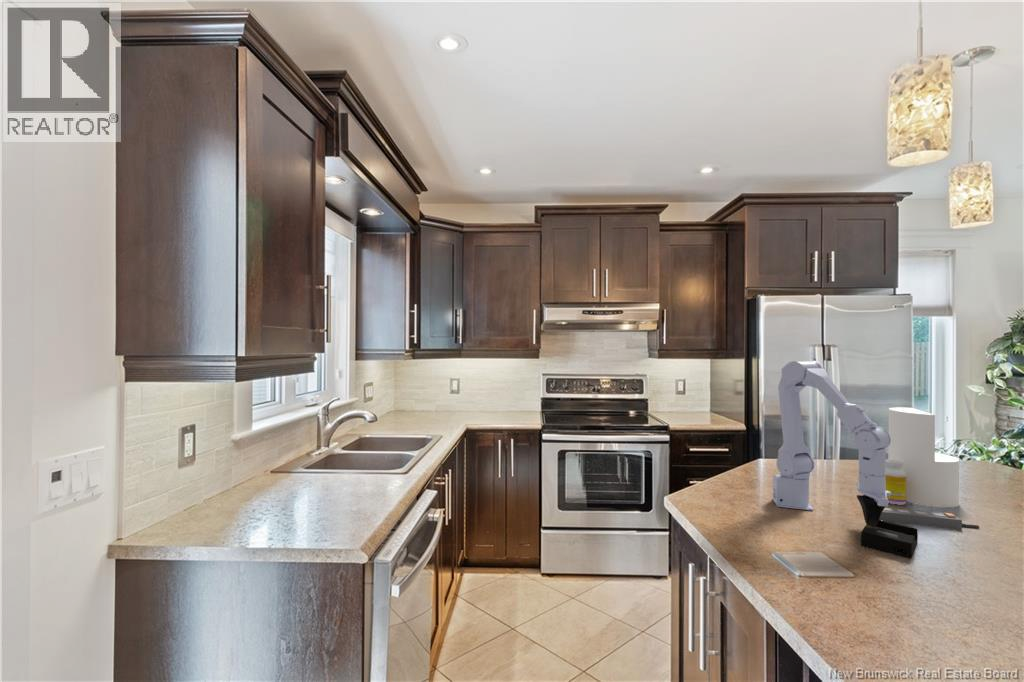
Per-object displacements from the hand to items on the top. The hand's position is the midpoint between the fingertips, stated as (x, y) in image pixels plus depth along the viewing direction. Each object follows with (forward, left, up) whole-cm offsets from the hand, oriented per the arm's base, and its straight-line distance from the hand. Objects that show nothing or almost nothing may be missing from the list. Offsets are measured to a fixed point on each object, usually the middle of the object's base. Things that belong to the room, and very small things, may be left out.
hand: (871, 524), depth 125 cm
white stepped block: (+26, +37, -2) cm, 46 cm away
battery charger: (+1, -9, -2) cm, 9 cm away
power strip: (+16, +12, -1) cm, 20 cm away
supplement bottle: (+16, +29, -2) cm, 33 cm away
